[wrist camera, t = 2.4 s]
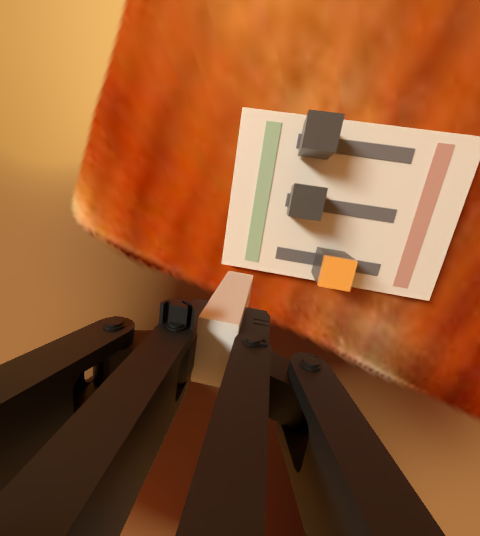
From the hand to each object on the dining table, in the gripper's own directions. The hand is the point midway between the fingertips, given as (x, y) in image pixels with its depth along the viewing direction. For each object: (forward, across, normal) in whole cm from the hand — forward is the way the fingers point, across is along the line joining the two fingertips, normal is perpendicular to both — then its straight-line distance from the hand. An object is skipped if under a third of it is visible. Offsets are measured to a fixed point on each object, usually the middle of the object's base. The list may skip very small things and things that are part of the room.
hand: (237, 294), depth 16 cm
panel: (+18, -8, -6) cm, 20 cm away
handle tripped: (+15, -8, 0) cm, 17 cm away
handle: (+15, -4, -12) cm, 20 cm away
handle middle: (+15, -4, -6) cm, 17 cm away
